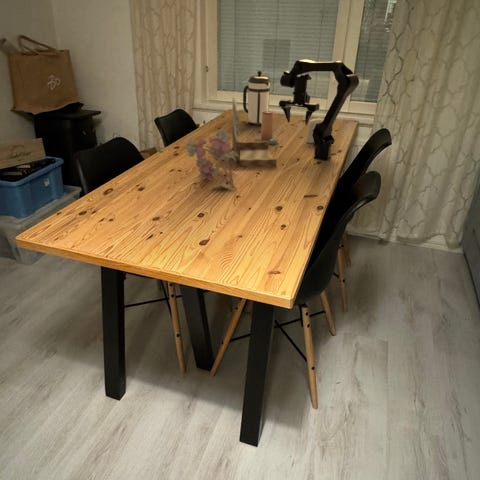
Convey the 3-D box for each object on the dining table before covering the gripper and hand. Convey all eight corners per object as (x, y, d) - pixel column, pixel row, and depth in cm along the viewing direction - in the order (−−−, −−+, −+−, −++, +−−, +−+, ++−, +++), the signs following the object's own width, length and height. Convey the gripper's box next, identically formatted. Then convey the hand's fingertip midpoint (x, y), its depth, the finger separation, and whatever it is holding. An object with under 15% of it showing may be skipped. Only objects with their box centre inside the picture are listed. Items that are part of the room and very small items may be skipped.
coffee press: (270, 120, 249) (273, 69, 234) (269, 127, 236) (272, 72, 220) (242, 119, 251) (243, 68, 236) (240, 126, 237) (241, 72, 222)
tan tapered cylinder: (273, 140, 206) (275, 113, 200) (262, 140, 205) (263, 113, 199) (270, 136, 212) (272, 110, 205) (259, 137, 211) (260, 111, 204)
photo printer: (324, 140, 213) (327, 117, 207) (327, 143, 210) (330, 119, 203) (305, 141, 212) (308, 117, 206) (308, 143, 208) (310, 119, 202)
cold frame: (267, 149, 199) (270, 97, 187) (276, 168, 176) (279, 110, 163) (232, 149, 198) (232, 97, 185) (236, 169, 174) (236, 110, 162)
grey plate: (281, 141, 211) (281, 137, 210) (271, 147, 202) (271, 143, 201) (261, 137, 217) (262, 134, 216) (250, 143, 208) (250, 139, 207)
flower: (251, 171, 168) (225, 115, 158) (255, 186, 148) (225, 124, 138) (209, 191, 171) (180, 138, 161) (206, 209, 151) (174, 149, 141)
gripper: (325, 88, 187) (321, 122, 194) (289, 84, 195) (287, 117, 203) (316, 92, 178) (312, 127, 186) (279, 88, 187) (277, 122, 195)
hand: (297, 123), depth 193 cm, fingers open, 9 cm apart
